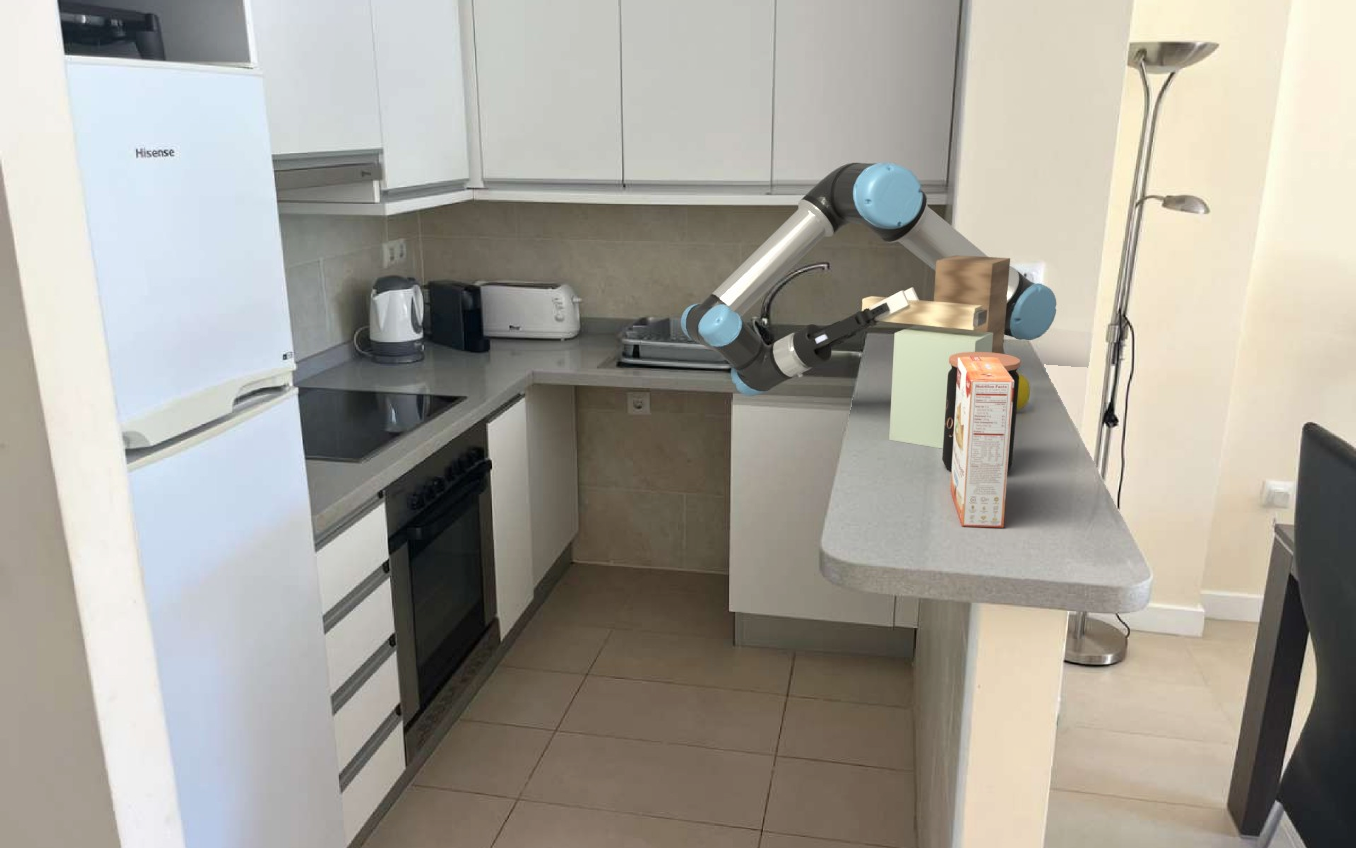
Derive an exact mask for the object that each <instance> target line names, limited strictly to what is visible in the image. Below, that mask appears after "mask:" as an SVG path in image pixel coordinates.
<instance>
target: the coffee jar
mask: <svg viewBox="0 0 1356 848" xmlns="http://www.w3.org/2000/svg"><path fill="white" fill-rule="evenodd" d="M959 357H994V358H998V359H999V361H1000V362H1001V364H1002V365H1003V366H1004V368H1005V369H1006V370H1007V372H1008V373H1009V374H1010V376H1011V377H1012V379H1013V380H1014V393H1013V406H1012V418H1011V430H1010V444H1009V457H1008V469H1007V472H1008V471H1010V469H1011V467H1012V465H1013V456H1014V444H1015V432H1016V423H1017V422H1016V420H1017V411H1018V410H1017V399H1018V388H1019V375H1018V373H1019V372H1018V371H1017V370H1018V369H1019V368H1020V367H1021V359H1019V358H1018V357H1016V356H1013V355H1010V354H1006V353H1005V354H1000V353H991V352H963V353H957V354H954V355H951V356H950V357H949V363H950V364H951V366H952V369H951V370H950V371H949V372H948V379H947V394H946V410H945V425H944V440H943V449H942V457H941V458H942V459H941V460H942V462H943V464H944V466H945V468H946V470H947V471H948V472H950V473H952V456H953V439H954V420H955V405H956V385H957V366H958V358H959ZM1017 372H1018V373H1017Z"/></svg>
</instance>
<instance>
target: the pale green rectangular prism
mask: <svg viewBox="0 0 1356 848" xmlns="http://www.w3.org/2000/svg"><path fill="white" fill-rule="evenodd" d="M893 337H894V339H893V356H892V357H893V358H892V373H891V374H892V375H891V376H892V377H891V380H892V381H891V398H890V399H891V400H890V416H889V435H888V436H889V437H888V440H889V441H893V442H894V441H895V442H900V443H906V444H912V445H919V446H925V447H931V448H936V449H941V450H943V440H944V425H945V410H946V394H947V379H948V372H949V371H950V370H951V369H952V366H951V364H950V363H949V357H950V356H951V355H954V354H957V353H963V352H991V353H992V342H993V333H991V332H980V331H970V330H960V329H949V328H939V327H932V326H926V325H916V324H913V325H912V326H911V325H910V326H909V327H906V328H904V329H901V330H900V331H899V330H898V331H896V332H894V336H893Z"/></svg>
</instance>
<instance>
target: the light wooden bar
mask: <svg viewBox="0 0 1356 848" xmlns="http://www.w3.org/2000/svg"><path fill="white" fill-rule="evenodd" d="M886 298H887V296H886V297H884V296H875V295H874V296H872V295H871V296H867V297H864V298H862V300H861V302H862V303H861V311H864V309H866V308H867V309H868V308H869V309H870V310H871V308H870V307H871V306H873V305H875V304H877V303H878V302H880V301H882V300H884V299H886ZM908 301H909V303H910V305H908V306H906V307H904V308H902V309H900V310H898V311H896V312H894V313H892V314H890V315H888V316H886V317H884V318H882V319H880V320H878V321H879V322H886V323H894V324H895V323H897V324H909V325H919V326H929V327H932V326H937V327H947V328H957V329H968V330H975V329H977V328H979V327H981V325H982V324H985V323H986V320H987V310H985V309H982V305H971V304H959V303H946V302H934V300H933V301H932V300H931V301H930V300H922V299H921V300H920V299H919V300H910V299H908ZM874 320H875V321H876V319H875V318H874Z"/></svg>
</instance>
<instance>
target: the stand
mask: <svg viewBox="0 0 1356 848" xmlns="http://www.w3.org/2000/svg"><path fill="white" fill-rule="evenodd" d="M1010 265H1011V258H1010V257H996V256H995V257H993V256H988V257H979V256H961V255H955V256H951V257H948V258H944V259H940V260H937V261H936V271H935V275H934V278H935V279H934V280H935V281H934V292H933V293H934V294H933V301H934V302H946V303H959V304H971V305H982V309H985V310H987V320H986V323H985V324H982V325H981V327H979V328H977V329H975V330H970V331H980V332H991V333H993V342H992V353H1000V354H1003V348H1004V337H1005V335H1004V330H1005V317H1006V305H1007V292H1008V280H1009V268H1010ZM931 327H937V326H931ZM939 328H947V327H939ZM949 329H957V328H949ZM960 330H968V329H960Z"/></svg>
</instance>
